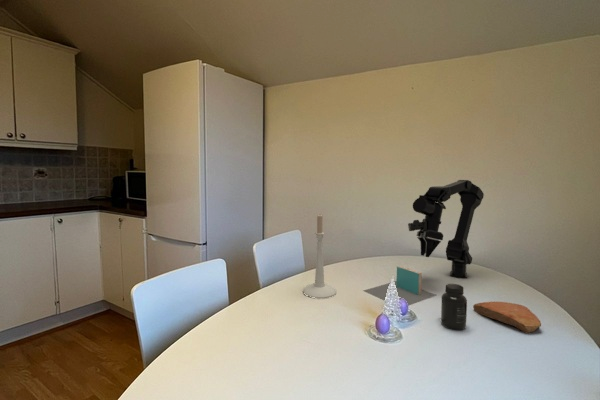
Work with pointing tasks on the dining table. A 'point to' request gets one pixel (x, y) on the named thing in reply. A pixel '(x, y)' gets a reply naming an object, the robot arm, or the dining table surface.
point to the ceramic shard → (509, 314)
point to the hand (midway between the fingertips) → (424, 256)
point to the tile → (409, 280)
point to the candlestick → (319, 270)
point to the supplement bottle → (454, 307)
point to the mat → (400, 294)
